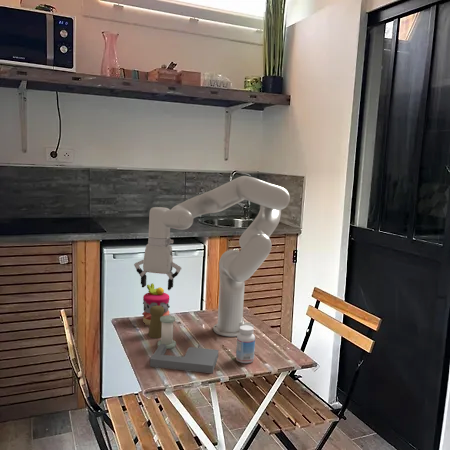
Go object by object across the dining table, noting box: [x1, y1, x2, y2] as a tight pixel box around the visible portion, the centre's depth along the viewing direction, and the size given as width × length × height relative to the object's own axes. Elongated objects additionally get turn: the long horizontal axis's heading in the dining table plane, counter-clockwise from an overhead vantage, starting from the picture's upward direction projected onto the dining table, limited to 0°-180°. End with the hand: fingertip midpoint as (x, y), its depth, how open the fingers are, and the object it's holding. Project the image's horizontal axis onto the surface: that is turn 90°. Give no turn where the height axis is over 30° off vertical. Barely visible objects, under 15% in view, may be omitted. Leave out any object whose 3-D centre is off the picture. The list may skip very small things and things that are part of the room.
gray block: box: [149, 344, 219, 374], centre depth 149 cm, size 20×12×2 cm, turn 83°
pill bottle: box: [235, 325, 256, 364], centre depth 152 cm, size 6×6×11 cm
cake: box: [142, 282, 170, 326], centre depth 182 cm, size 10×11×15 cm
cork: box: [147, 306, 164, 339], centre depth 169 cm, size 6×6×11 cm
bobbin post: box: [157, 314, 177, 350], centre depth 160 cm, size 6×6×10 cm
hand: (156, 287), depth 167 cm, fingers open, 9 cm apart
